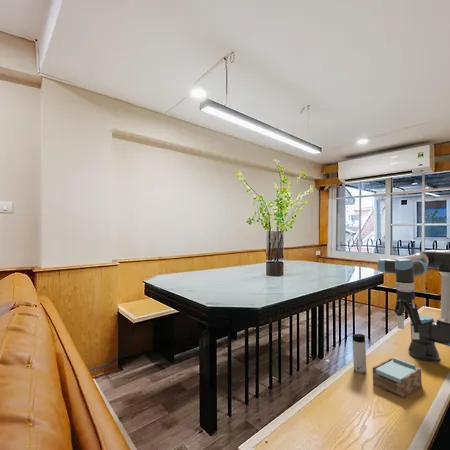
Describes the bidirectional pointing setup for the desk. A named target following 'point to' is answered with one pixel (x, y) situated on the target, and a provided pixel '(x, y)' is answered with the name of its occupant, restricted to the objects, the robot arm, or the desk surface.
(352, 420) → the desk surface
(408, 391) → the box
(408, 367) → the cover plate
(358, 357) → the travel mug
